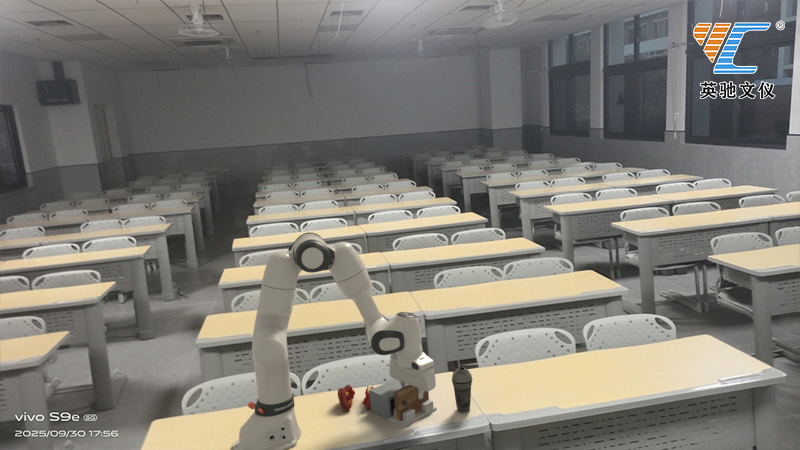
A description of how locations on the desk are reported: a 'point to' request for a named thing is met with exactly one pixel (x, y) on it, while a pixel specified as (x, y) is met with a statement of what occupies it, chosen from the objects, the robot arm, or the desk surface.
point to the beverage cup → (462, 388)
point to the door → (408, 400)
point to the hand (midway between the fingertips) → (412, 395)
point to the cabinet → (385, 404)
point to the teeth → (348, 394)
